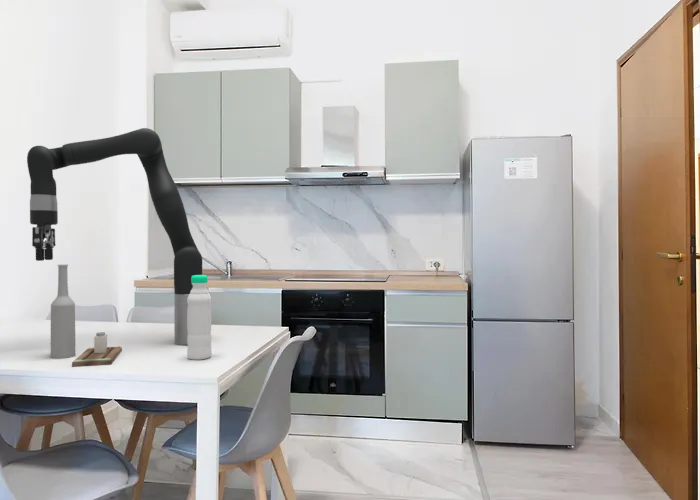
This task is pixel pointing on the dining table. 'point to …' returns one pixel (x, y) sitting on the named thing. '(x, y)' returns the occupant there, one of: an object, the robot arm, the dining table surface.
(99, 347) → the slider knob
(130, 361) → the dining table surface
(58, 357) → the bottle
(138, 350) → the dining table surface
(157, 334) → the dining table surface
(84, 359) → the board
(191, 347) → the water bottle
